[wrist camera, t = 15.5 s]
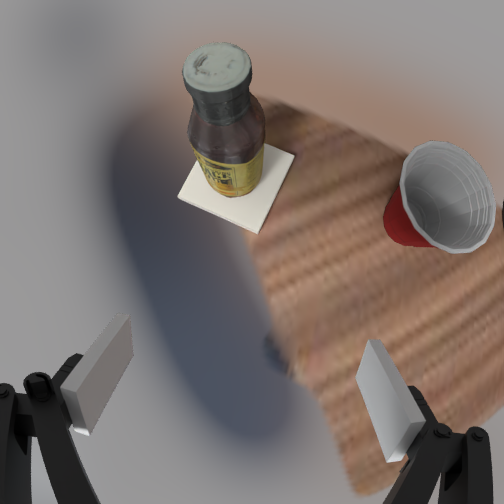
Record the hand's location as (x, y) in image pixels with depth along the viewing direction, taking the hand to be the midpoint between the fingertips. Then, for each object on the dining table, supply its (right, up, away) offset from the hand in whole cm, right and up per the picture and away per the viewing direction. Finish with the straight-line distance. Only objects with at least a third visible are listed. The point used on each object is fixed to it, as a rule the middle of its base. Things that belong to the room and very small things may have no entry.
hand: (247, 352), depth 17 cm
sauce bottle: (-2, +14, +19) cm, 24 cm away
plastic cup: (+18, +9, +19) cm, 28 cm away
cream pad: (-1, +14, +20) cm, 24 cm away
